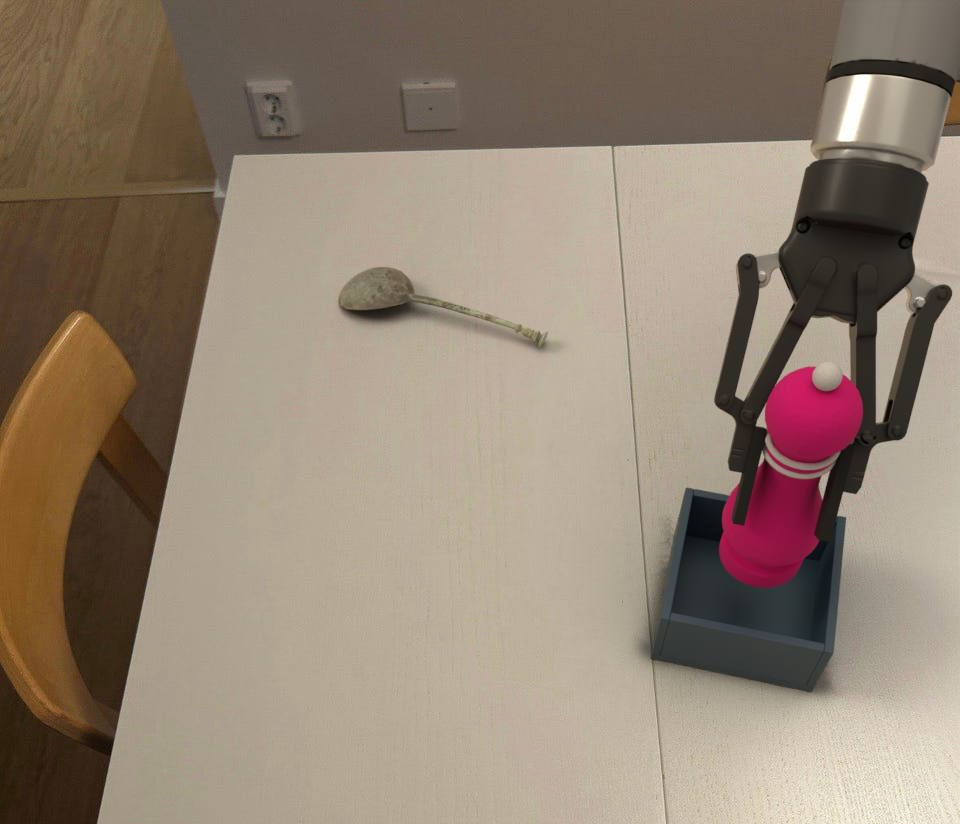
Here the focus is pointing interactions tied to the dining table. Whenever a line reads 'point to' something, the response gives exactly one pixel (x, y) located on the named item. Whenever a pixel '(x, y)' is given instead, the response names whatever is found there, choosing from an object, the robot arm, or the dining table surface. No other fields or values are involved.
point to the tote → (745, 606)
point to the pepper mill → (791, 474)
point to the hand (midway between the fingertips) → (779, 529)
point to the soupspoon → (407, 297)
